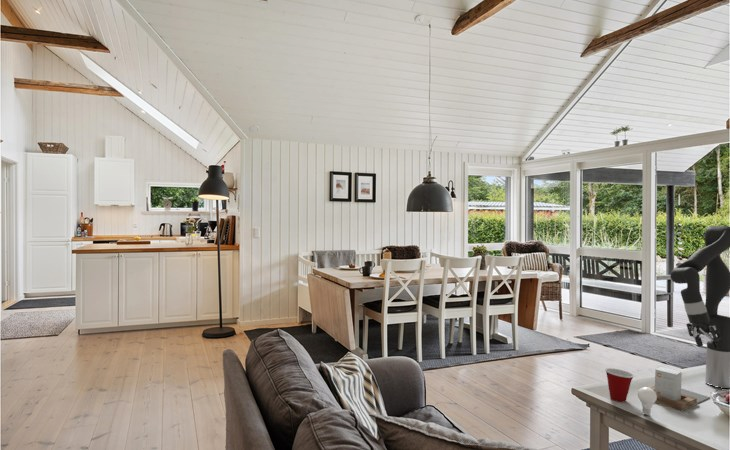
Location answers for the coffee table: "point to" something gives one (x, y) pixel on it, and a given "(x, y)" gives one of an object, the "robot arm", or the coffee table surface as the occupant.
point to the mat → (695, 395)
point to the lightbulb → (647, 399)
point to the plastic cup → (618, 383)
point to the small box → (668, 383)
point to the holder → (678, 405)
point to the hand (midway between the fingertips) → (708, 347)
